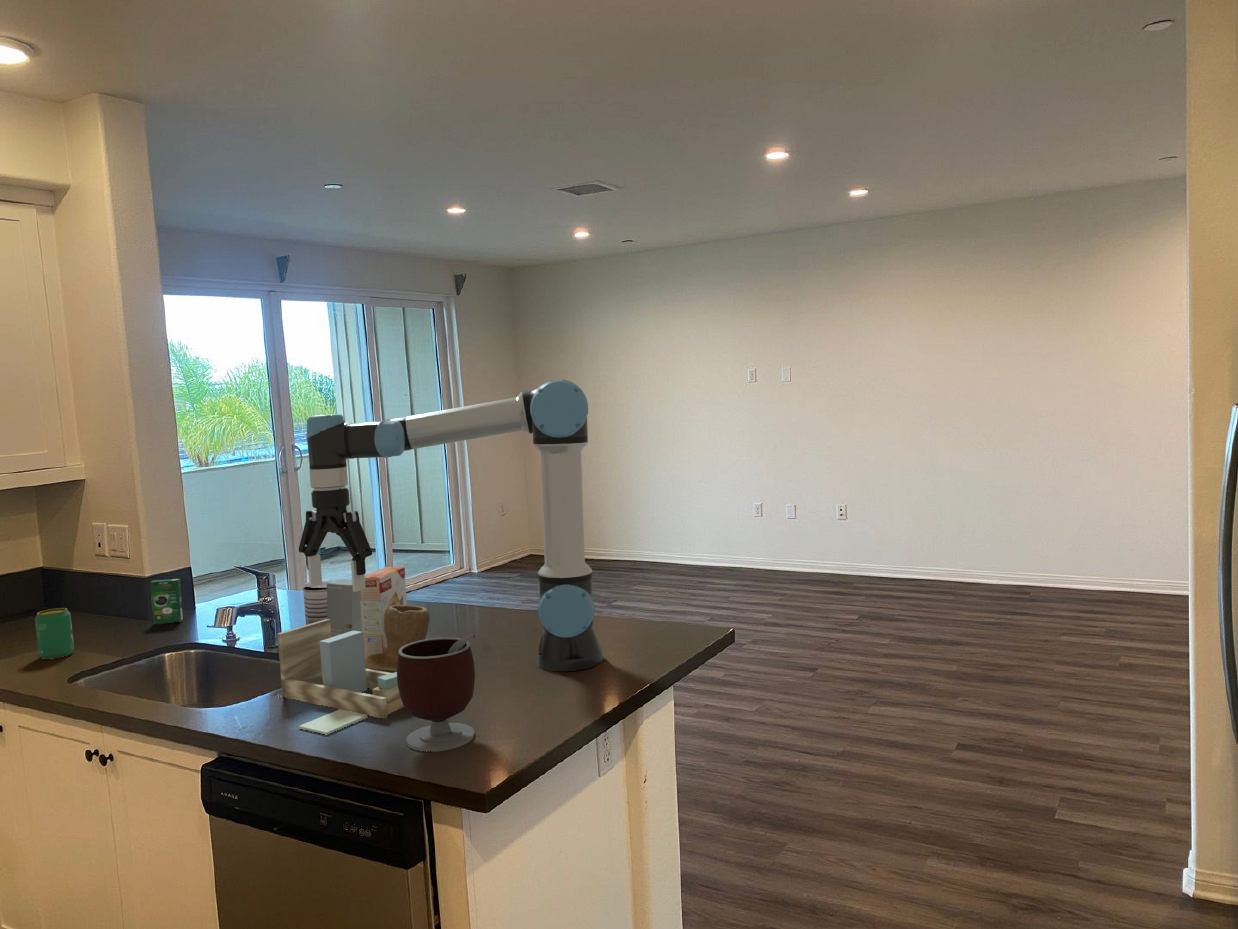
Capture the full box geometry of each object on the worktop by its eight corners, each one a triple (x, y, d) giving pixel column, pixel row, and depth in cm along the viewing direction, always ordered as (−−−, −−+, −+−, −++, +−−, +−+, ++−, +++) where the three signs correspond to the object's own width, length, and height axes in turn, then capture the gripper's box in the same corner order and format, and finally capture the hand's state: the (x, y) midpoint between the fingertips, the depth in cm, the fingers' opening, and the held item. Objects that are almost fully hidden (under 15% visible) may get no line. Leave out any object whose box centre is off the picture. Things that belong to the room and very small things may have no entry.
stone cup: (443, 664, 212) (439, 601, 211) (412, 679, 201) (408, 613, 200) (391, 659, 218) (386, 598, 217) (358, 674, 207) (353, 610, 206)
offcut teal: (407, 683, 184) (406, 673, 184) (385, 689, 181) (385, 680, 181) (399, 680, 186) (398, 671, 186) (378, 687, 183) (377, 677, 183)
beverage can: (78, 654, 238) (74, 610, 237) (44, 662, 232) (39, 616, 232) (69, 649, 244) (64, 606, 243) (35, 657, 238) (30, 612, 237)
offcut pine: (411, 692, 186) (410, 680, 186) (388, 703, 180) (387, 691, 180) (395, 690, 188) (395, 678, 188) (373, 701, 182) (372, 689, 182)
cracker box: (386, 664, 215) (380, 577, 213) (363, 663, 216) (356, 577, 214) (411, 647, 228) (405, 565, 227) (389, 647, 230) (383, 566, 228)
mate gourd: (386, 749, 161) (378, 640, 159) (429, 722, 174) (422, 620, 172) (461, 758, 155) (454, 644, 154) (500, 728, 168) (493, 623, 167)
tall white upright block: (367, 690, 195) (362, 631, 194) (333, 703, 188) (329, 642, 187) (357, 688, 197) (353, 630, 196) (324, 701, 189) (319, 641, 188)
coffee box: (184, 620, 272) (180, 577, 271) (182, 622, 269) (178, 579, 268) (155, 623, 270) (151, 580, 269) (152, 625, 267) (148, 582, 266)
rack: (430, 698, 188) (426, 632, 187) (383, 719, 177) (378, 649, 176) (331, 679, 204) (326, 619, 203) (282, 697, 193) (277, 633, 192)
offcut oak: (420, 702, 187) (419, 691, 187) (388, 717, 179) (387, 705, 179) (402, 699, 190) (401, 688, 189) (370, 713, 182) (369, 701, 182)
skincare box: (327, 643, 237) (322, 583, 235) (345, 635, 243) (340, 578, 242) (353, 644, 234) (348, 584, 232) (370, 637, 240) (366, 578, 239)
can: (306, 621, 262) (303, 581, 261) (347, 616, 265) (344, 576, 264) (305, 631, 251) (301, 588, 250) (347, 625, 254) (344, 584, 253)
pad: (367, 718, 178) (367, 715, 178) (326, 735, 169) (326, 732, 169) (340, 712, 182) (340, 709, 182) (299, 729, 174) (298, 726, 174)
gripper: (385, 487, 185) (392, 588, 187) (305, 485, 199) (313, 580, 200) (356, 491, 179) (364, 596, 181) (276, 489, 192) (284, 587, 194)
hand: (337, 588), depth 190 cm, fingers open, 13 cm apart
